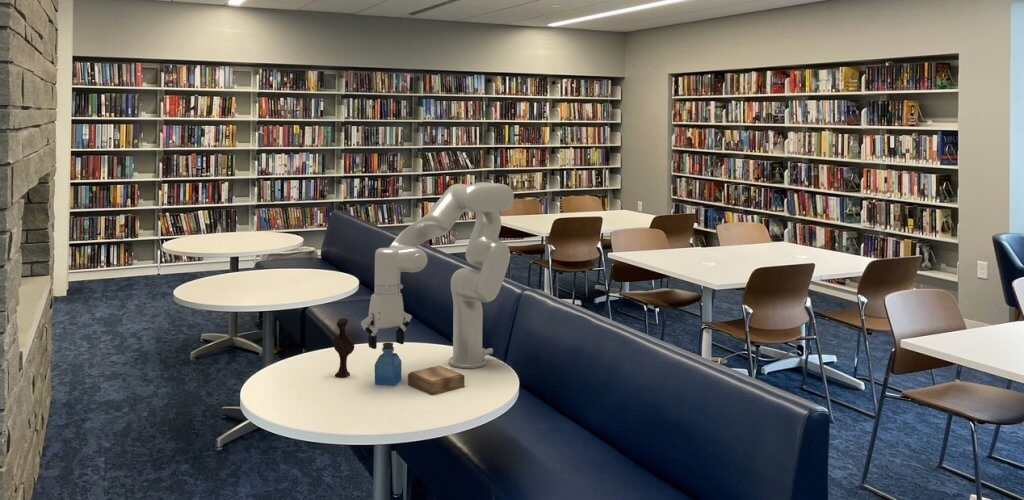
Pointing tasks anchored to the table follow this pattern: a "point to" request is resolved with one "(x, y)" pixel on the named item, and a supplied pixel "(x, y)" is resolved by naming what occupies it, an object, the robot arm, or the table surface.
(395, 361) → the perfume bottle
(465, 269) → the robot arm
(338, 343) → the figurine
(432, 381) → the pedestal
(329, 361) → the table surface
